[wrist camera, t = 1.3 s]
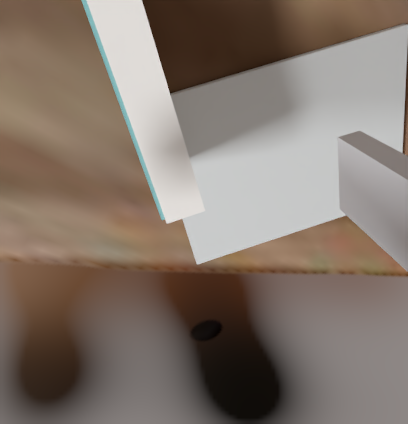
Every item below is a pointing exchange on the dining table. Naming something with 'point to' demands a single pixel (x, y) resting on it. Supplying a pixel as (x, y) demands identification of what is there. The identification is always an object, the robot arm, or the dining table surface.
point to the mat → (286, 138)
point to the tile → (146, 104)
